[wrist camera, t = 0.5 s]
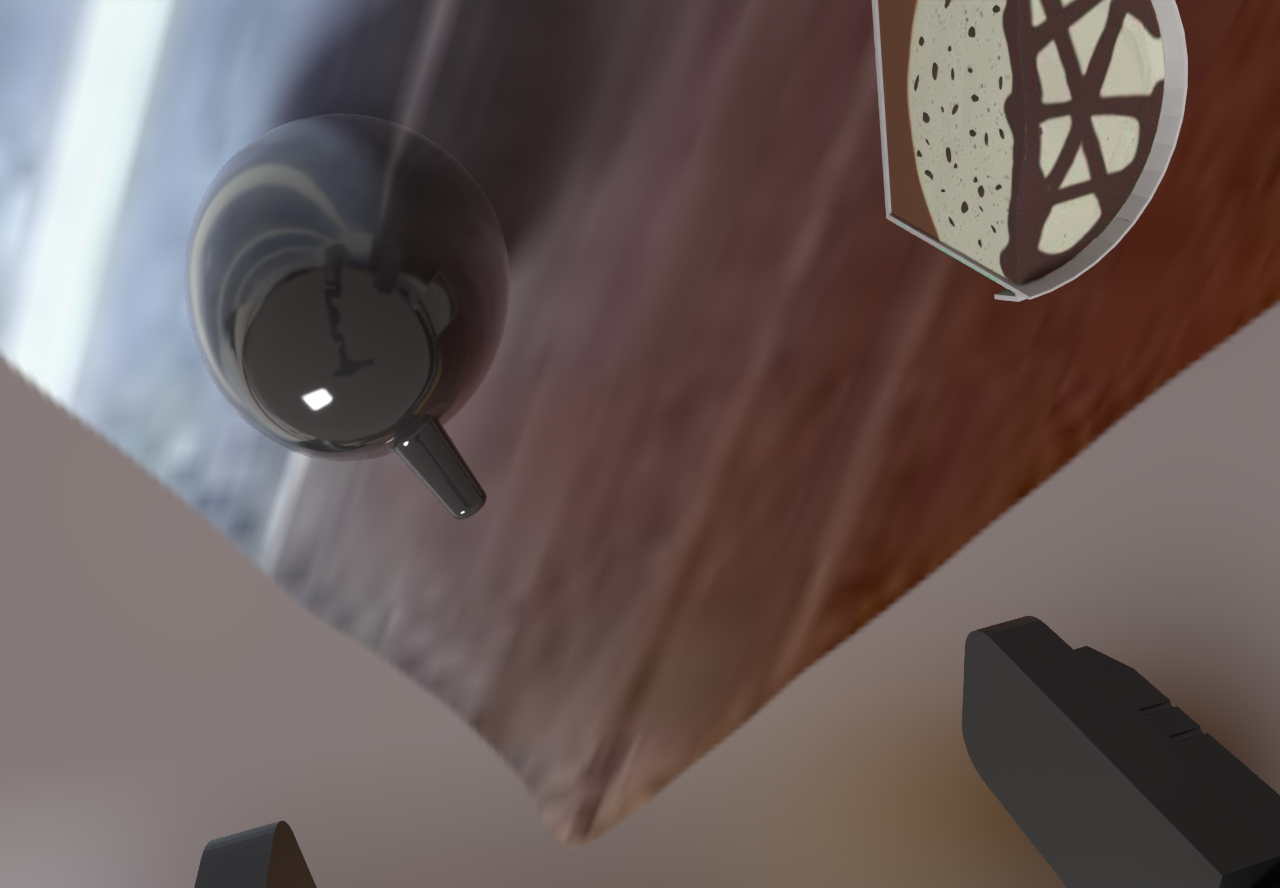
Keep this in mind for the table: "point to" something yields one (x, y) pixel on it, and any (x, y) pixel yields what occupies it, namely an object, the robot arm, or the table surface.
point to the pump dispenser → (350, 294)
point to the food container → (1026, 127)
